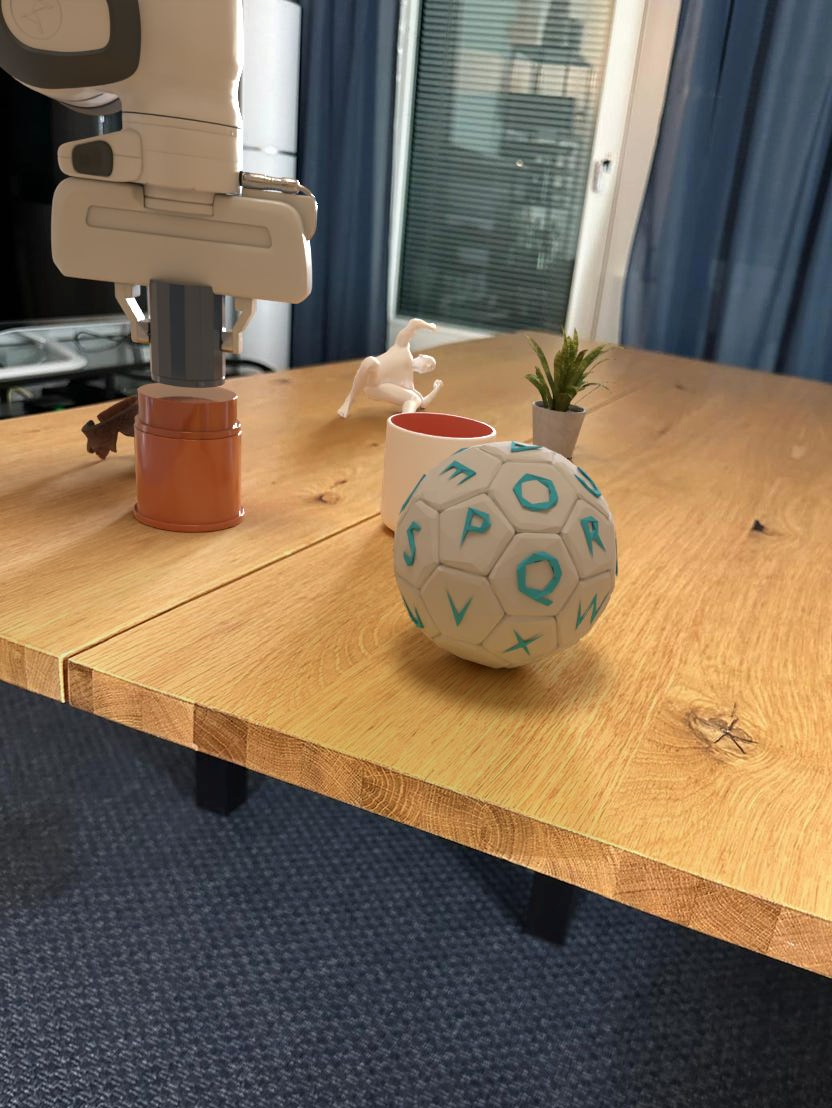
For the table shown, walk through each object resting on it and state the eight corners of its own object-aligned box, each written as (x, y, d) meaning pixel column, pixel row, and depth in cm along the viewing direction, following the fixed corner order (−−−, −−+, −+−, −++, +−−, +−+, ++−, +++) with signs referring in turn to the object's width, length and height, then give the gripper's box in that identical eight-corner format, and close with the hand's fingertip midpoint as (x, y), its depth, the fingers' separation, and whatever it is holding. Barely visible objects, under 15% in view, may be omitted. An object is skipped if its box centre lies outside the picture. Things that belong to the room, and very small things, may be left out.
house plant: (632, 473, 118) (657, 340, 111) (532, 471, 113) (553, 331, 106) (583, 444, 130) (603, 322, 123) (491, 440, 125) (507, 314, 118)
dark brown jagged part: (173, 491, 91) (124, 416, 87) (103, 513, 95) (53, 443, 91) (225, 436, 100) (183, 366, 96) (159, 459, 104) (116, 393, 100)
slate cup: (142, 382, 76) (138, 279, 73) (163, 370, 82) (160, 274, 78) (215, 391, 77) (215, 288, 73) (231, 378, 82) (231, 282, 79)
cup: (461, 555, 83) (473, 445, 79) (360, 531, 85) (368, 423, 81) (497, 527, 91) (510, 426, 87) (405, 505, 94) (414, 407, 90)
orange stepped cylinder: (118, 525, 79) (112, 396, 75) (151, 493, 88) (147, 376, 84) (231, 537, 80) (231, 409, 76) (253, 504, 89) (255, 388, 84)
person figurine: (418, 347, 120) (434, 309, 135) (323, 356, 121) (349, 317, 136) (433, 442, 127) (446, 395, 142) (343, 449, 129) (366, 402, 144)
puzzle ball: (344, 663, 61) (358, 440, 55) (442, 594, 74) (463, 406, 68) (557, 732, 56) (600, 496, 50) (623, 646, 69) (664, 449, 63)
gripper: (323, 182, 76) (316, 356, 81) (67, 149, 74) (79, 328, 80) (312, 180, 70) (305, 367, 76) (35, 144, 69) (50, 338, 74)
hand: (187, 347), depth 78 cm, fingers closed on slate cup, 6 cm apart
